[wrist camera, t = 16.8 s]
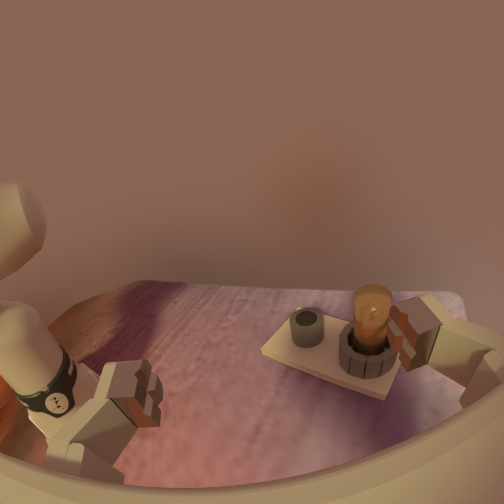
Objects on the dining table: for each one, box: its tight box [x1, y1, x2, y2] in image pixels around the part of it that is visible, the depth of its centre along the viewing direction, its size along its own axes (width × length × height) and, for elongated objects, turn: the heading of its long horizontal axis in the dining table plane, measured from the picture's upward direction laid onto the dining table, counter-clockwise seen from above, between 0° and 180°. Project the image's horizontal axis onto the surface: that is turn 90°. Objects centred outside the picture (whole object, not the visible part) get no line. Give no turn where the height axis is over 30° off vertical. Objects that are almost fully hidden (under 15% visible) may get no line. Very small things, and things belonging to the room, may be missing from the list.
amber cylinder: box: [353, 284, 392, 356], centre depth 37 cm, size 5×5×12 cm
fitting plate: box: [261, 307, 401, 401], centre depth 42 cm, size 22×12×6 cm, turn 52°
